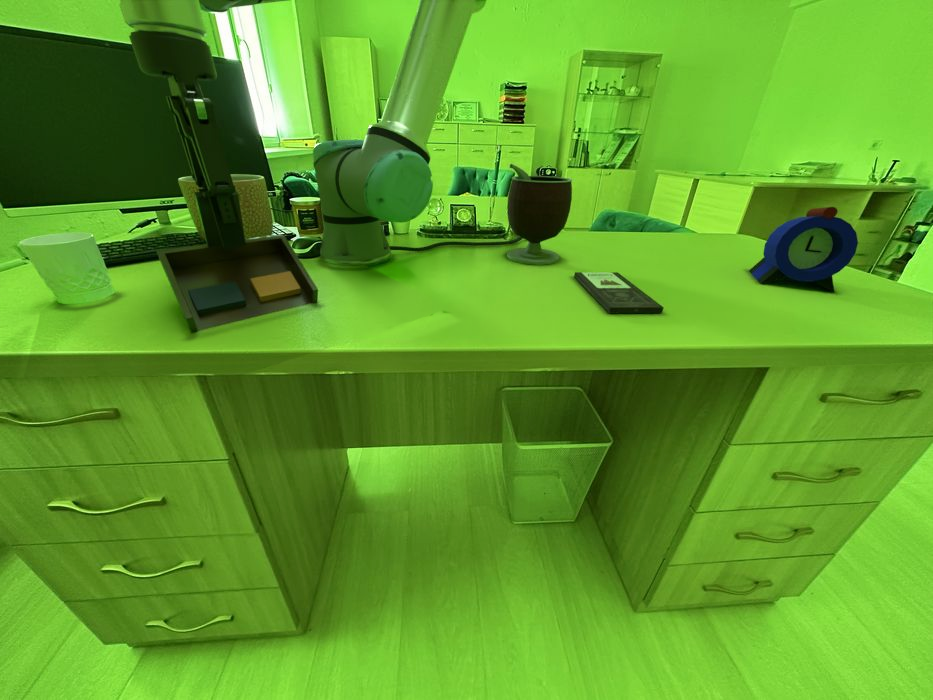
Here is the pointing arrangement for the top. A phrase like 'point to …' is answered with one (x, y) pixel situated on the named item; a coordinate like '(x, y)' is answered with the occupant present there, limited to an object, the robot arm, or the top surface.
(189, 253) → the dustpan
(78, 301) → the white cup
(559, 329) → the top surface
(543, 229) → the mate gourd
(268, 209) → the planter
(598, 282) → the chocolate bar
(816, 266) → the alarm clock
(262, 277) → the block
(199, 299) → the block
